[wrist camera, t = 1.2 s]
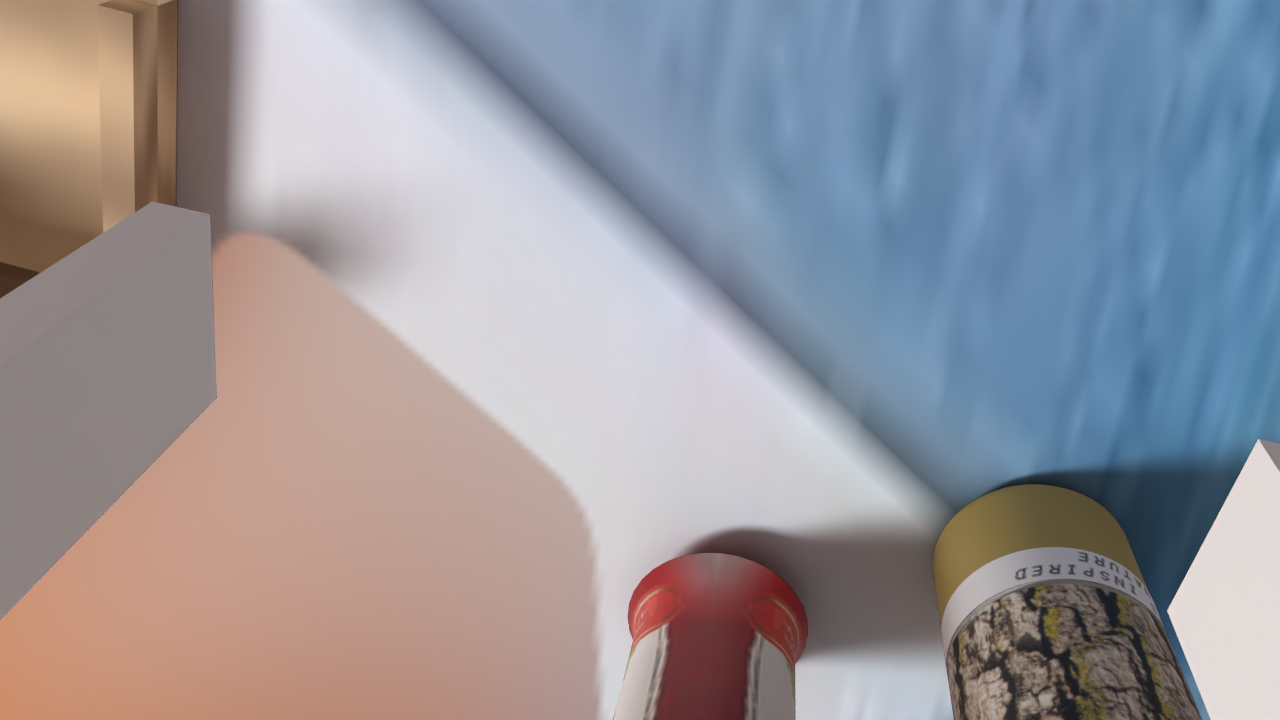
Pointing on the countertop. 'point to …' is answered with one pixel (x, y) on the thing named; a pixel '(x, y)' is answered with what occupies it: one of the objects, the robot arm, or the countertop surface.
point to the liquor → (712, 642)
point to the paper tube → (1051, 614)
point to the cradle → (81, 123)
